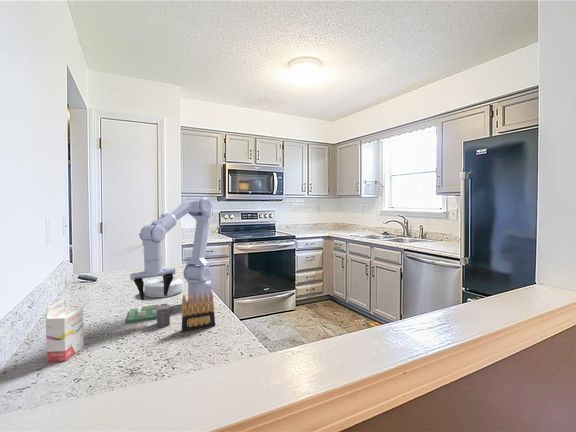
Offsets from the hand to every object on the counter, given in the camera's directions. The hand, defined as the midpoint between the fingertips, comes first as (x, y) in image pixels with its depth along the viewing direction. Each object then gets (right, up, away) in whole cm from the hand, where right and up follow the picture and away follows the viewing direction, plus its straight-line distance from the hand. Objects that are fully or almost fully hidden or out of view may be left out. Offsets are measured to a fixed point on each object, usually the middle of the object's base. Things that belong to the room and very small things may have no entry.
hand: (154, 297), depth 107 cm
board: (-5, -8, +7) cm, 12 cm away
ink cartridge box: (-15, -10, -22) cm, 29 cm away
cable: (-11, -8, +36) cm, 38 cm away
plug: (+4, -9, -2) cm, 10 cm away
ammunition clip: (+17, -9, -5) cm, 20 cm away
